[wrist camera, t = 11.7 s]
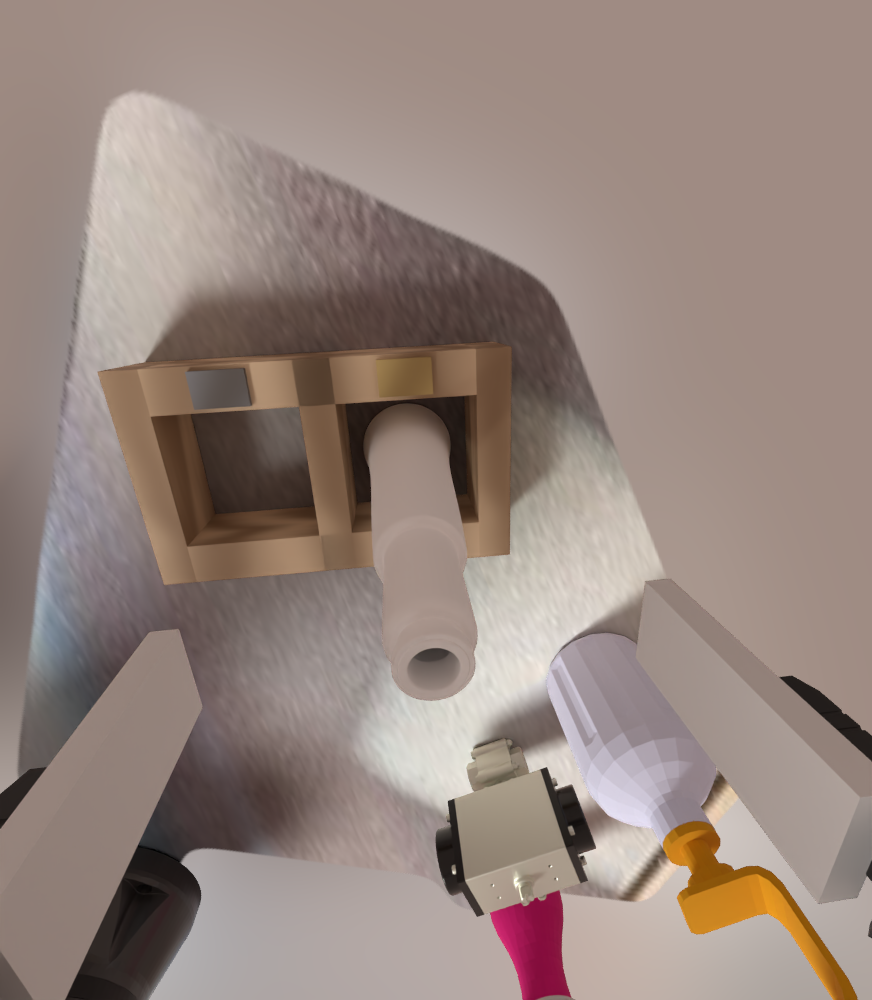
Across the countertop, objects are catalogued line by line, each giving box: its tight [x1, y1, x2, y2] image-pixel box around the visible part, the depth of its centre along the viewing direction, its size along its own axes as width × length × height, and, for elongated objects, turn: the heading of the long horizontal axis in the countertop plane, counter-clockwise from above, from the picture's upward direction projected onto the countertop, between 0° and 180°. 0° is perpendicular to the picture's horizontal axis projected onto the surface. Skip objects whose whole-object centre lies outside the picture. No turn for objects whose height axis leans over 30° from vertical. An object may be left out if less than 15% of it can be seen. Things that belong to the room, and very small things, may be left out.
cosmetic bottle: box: [363, 403, 478, 701], centre depth 22 cm, size 6×6×22 cm
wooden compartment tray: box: [98, 342, 512, 585], centre depth 30 cm, size 22×13×5 cm, turn 93°
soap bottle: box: [546, 633, 857, 1000], centre depth 30 cm, size 9×9×25 cm
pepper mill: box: [490, 890, 574, 1000], centre depth 41 cm, size 7×7×20 cm
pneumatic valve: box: [436, 738, 596, 917], centre depth 39 cm, size 6×12×12 cm, turn 110°
